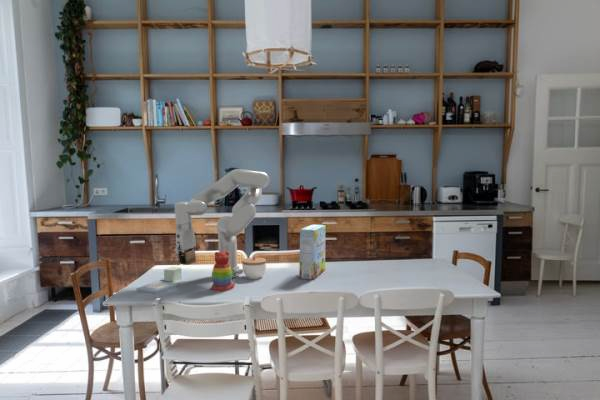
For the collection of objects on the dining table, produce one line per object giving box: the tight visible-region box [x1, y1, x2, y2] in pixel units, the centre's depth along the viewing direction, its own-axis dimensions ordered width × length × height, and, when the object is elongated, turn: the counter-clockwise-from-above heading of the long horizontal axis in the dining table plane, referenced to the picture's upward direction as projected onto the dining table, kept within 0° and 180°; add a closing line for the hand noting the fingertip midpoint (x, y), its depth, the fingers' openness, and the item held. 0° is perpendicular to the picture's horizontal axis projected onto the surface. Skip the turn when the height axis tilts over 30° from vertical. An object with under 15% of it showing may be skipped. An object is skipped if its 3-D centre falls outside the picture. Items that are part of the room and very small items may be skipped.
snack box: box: [298, 224, 327, 281], centre depth 224 cm, size 22×9×26 cm, turn 161°
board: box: [136, 280, 178, 295], centre depth 202 cm, size 12×14×1 cm
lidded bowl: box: [241, 255, 267, 280], centre depth 220 cm, size 13×13×11 cm
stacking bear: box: [211, 251, 236, 292], centre depth 200 cm, size 11×10×18 cm
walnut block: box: [177, 250, 197, 266], centre depth 213 cm, size 6×6×6 cm
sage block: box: [163, 266, 183, 283], centre depth 217 cm, size 6×6×6 cm
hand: (187, 261), depth 213 cm, fingers closed on walnut block, 6 cm apart
